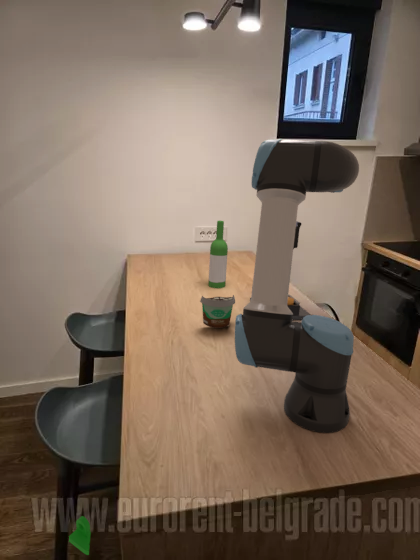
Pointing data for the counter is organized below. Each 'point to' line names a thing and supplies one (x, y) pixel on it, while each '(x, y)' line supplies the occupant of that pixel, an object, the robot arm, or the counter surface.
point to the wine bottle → (218, 259)
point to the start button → (290, 301)
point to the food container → (217, 311)
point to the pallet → (297, 310)
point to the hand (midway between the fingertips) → (279, 265)
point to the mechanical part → (81, 535)
